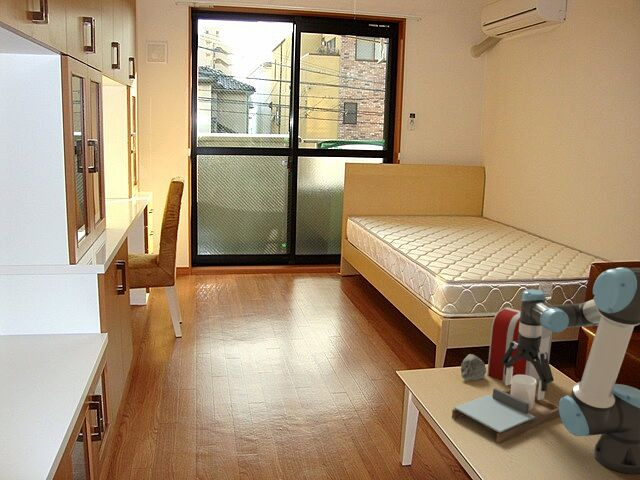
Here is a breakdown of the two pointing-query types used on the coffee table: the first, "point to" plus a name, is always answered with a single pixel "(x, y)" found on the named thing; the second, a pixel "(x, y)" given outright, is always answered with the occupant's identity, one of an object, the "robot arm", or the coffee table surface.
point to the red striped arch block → (501, 337)
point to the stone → (472, 368)
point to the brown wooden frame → (542, 413)
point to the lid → (497, 410)
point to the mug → (524, 389)
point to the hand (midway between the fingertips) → (524, 391)
